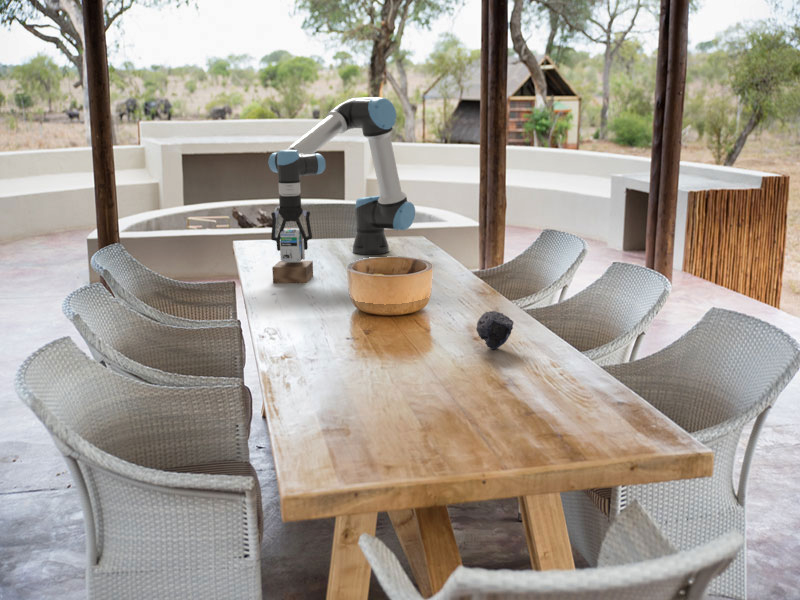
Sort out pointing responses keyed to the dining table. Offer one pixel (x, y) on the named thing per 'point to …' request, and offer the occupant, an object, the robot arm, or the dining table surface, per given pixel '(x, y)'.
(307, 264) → the walnut block
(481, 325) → the pumice stone
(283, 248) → the light bulb box
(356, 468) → the dining table surface
